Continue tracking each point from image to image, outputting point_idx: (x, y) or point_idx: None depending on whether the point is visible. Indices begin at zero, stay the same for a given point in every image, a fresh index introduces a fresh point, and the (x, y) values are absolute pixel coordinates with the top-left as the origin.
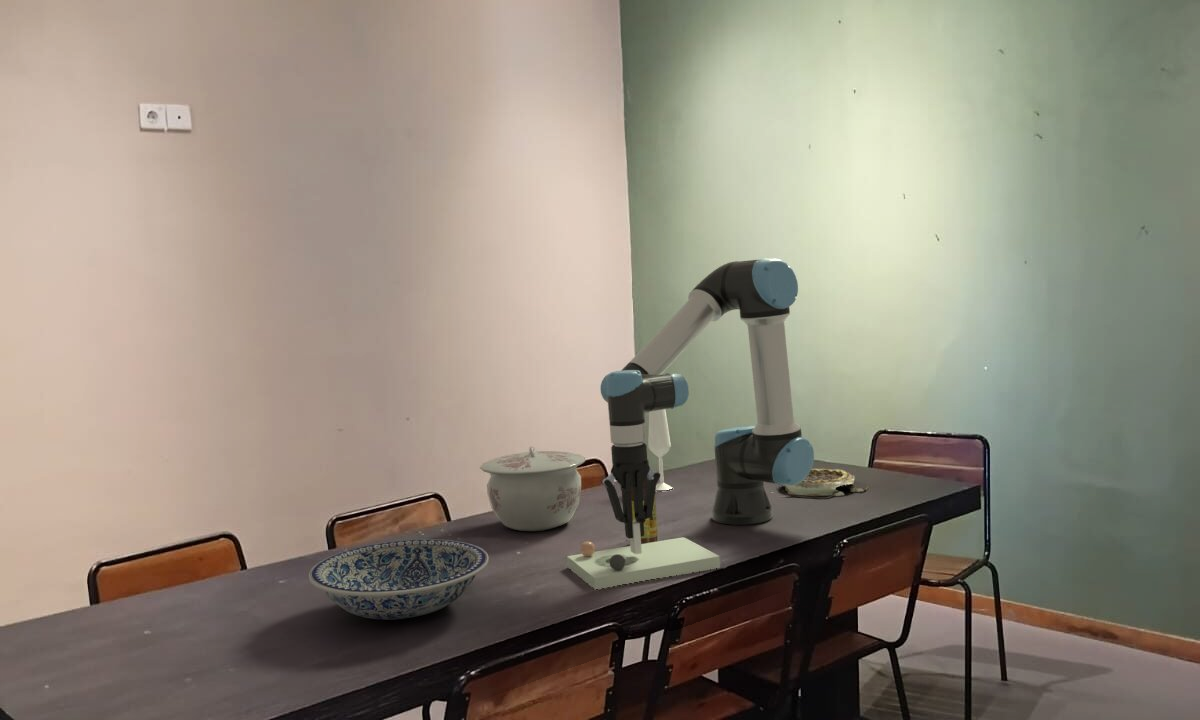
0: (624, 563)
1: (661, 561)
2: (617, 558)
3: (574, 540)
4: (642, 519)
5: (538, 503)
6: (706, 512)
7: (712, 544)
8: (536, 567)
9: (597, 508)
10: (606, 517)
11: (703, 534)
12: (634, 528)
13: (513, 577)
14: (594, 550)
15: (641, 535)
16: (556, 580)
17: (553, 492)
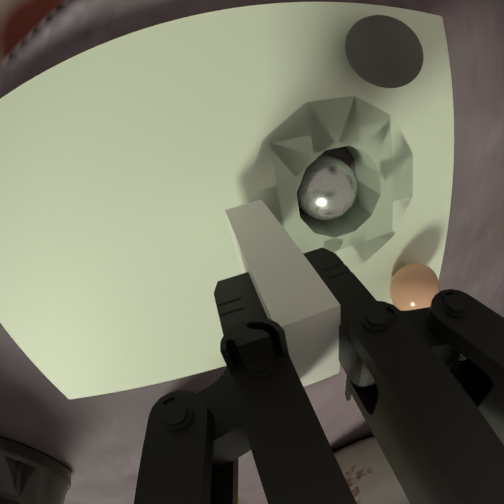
0: (355, 24)
1: (128, 114)
2: (403, 24)
3: (328, 421)
4: (251, 364)
5: (389, 470)
6: (88, 484)
7: (13, 376)
8: (457, 278)
9: (250, 495)
10: (245, 483)
11: (57, 429)
12: (314, 282)
13: (501, 222)
14: (398, 279)
15: (234, 281)
16: (467, 164)
17: (369, 495)
